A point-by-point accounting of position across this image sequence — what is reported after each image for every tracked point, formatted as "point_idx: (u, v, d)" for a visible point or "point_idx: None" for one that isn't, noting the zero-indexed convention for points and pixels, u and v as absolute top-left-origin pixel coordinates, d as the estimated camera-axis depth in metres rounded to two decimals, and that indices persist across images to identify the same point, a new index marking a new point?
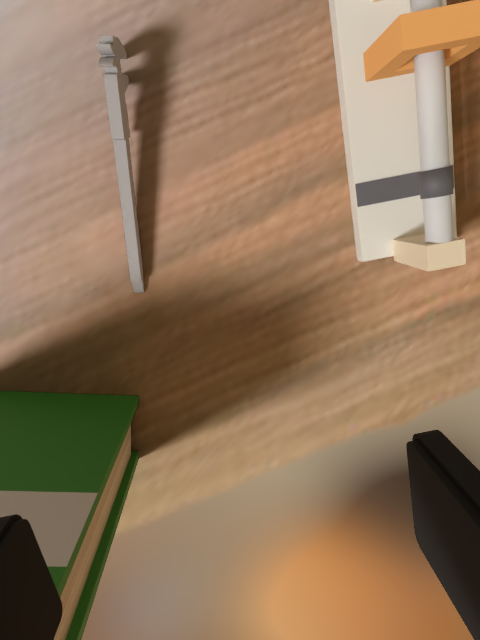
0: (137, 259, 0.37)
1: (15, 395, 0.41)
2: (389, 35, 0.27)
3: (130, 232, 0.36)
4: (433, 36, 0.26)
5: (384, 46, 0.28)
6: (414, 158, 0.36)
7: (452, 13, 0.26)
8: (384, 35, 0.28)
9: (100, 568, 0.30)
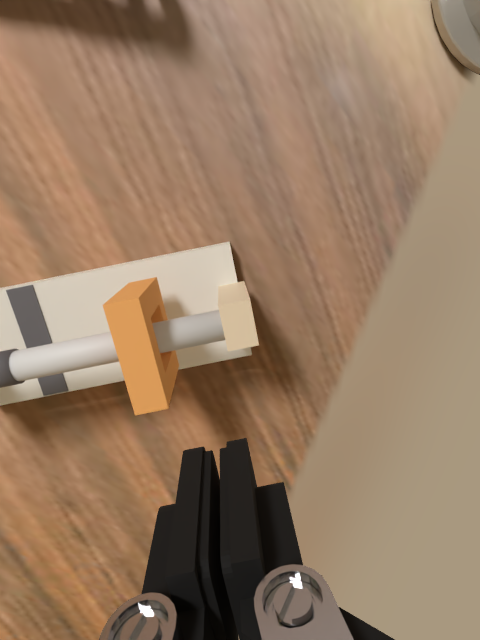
0: None
1: None
2: (134, 293, 0.24)
3: None
4: (120, 337, 0.23)
5: (133, 290, 0.25)
6: None
7: (145, 355, 0.23)
8: (142, 289, 0.25)
9: None
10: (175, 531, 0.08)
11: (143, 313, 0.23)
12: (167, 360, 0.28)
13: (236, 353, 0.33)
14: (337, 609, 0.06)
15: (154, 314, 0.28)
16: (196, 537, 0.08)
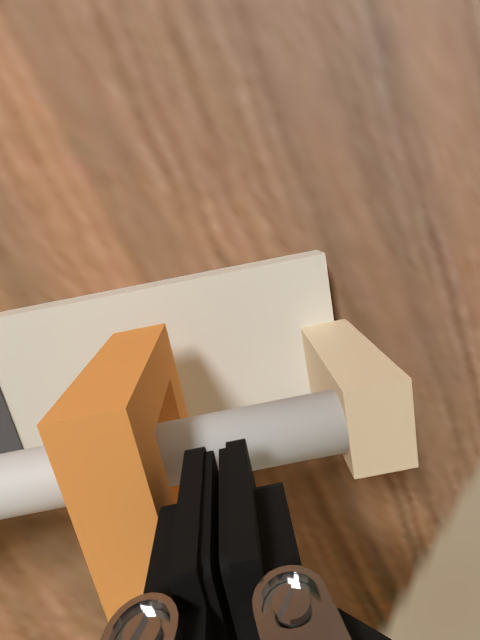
0: None
1: None
2: (119, 381, 0.11)
3: None
4: (83, 497, 0.10)
5: (118, 367, 0.12)
6: None
7: (141, 532, 0.10)
8: (137, 366, 0.12)
9: None
10: (176, 531, 0.08)
11: (137, 440, 0.10)
12: None
13: None
14: (335, 609, 0.06)
15: None
16: (198, 538, 0.08)
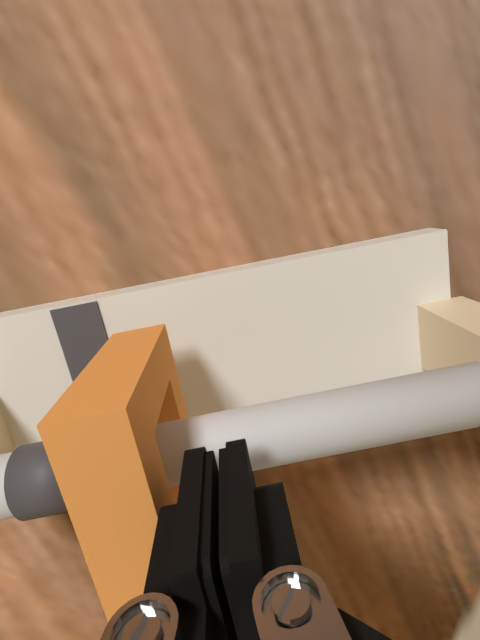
0: None
1: None
2: (118, 381, 0.11)
3: None
4: (83, 497, 0.10)
5: (118, 368, 0.12)
6: None
7: (141, 533, 0.10)
8: (136, 366, 0.12)
9: None
10: (176, 531, 0.08)
11: (137, 440, 0.10)
12: None
13: None
14: (335, 609, 0.06)
15: None
16: (198, 538, 0.08)
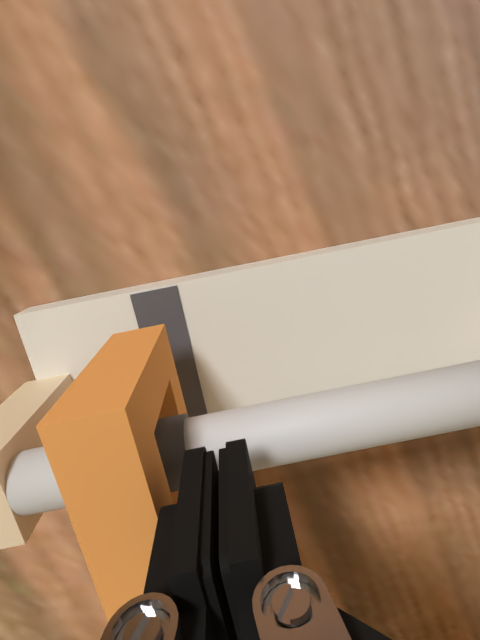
0: None
1: None
2: (118, 382, 0.11)
3: None
4: (82, 498, 0.10)
5: (117, 368, 0.12)
6: (228, 395, 0.19)
7: (140, 533, 0.10)
8: (136, 367, 0.12)
9: None
10: (176, 531, 0.08)
11: (137, 441, 0.10)
12: None
13: None
14: (335, 609, 0.06)
15: None
16: (198, 537, 0.08)
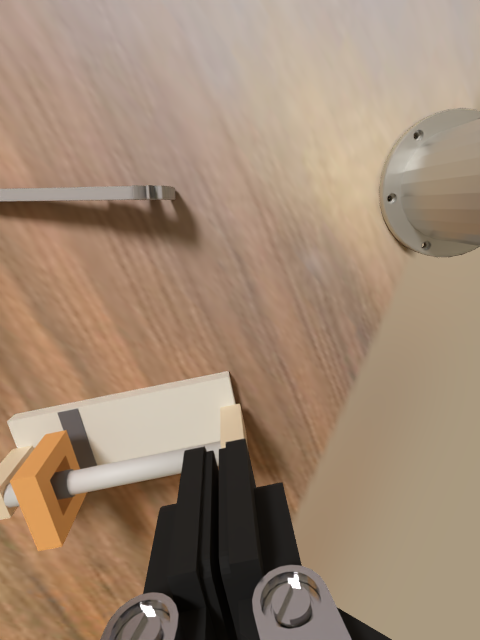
0: None
1: None
2: (37, 464, 0.33)
3: None
4: (24, 501, 0.32)
5: (39, 457, 0.34)
6: (104, 454, 0.42)
7: (42, 512, 0.33)
8: (45, 457, 0.34)
9: None
10: (176, 531, 0.08)
11: (40, 484, 0.32)
12: (71, 498, 0.37)
13: None
14: (335, 609, 0.06)
15: (62, 462, 0.37)
16: (198, 538, 0.08)
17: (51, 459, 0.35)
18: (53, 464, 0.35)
